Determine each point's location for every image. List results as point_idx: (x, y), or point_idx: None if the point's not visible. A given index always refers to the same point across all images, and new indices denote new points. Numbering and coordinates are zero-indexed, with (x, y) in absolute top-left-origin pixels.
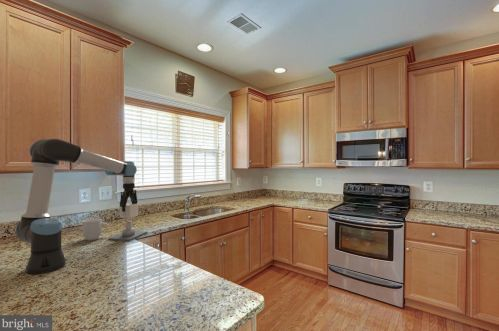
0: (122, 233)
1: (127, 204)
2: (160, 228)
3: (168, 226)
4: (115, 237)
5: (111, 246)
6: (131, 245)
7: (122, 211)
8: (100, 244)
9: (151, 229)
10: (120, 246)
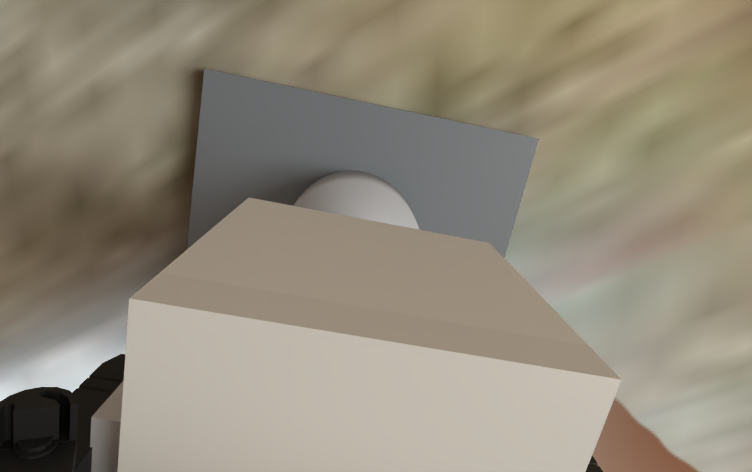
0: (308, 188)
1: (421, 456)
2: (640, 414)
3: (710, 460)
4: (234, 143)
5: (14, 227)
6: (76, 383)
7: (118, 360)
8: (48, 77)
9: (611, 345)
10: (32, 307)
